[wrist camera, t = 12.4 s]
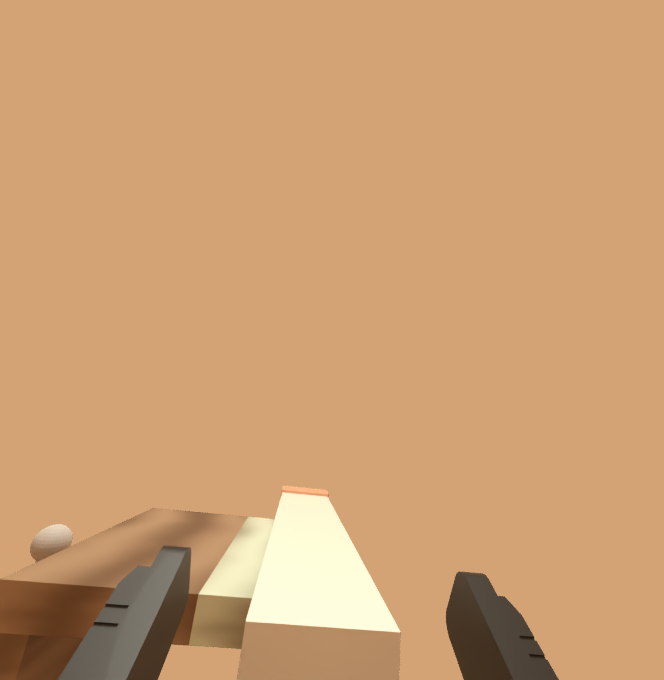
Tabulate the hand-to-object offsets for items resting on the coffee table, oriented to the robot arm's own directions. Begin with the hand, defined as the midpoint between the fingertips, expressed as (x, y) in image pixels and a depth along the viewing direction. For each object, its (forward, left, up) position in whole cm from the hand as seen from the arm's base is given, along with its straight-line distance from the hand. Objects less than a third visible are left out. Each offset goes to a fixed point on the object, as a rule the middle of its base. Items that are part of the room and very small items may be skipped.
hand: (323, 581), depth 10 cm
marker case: (0, +11, -4) cm, 12 cm away
